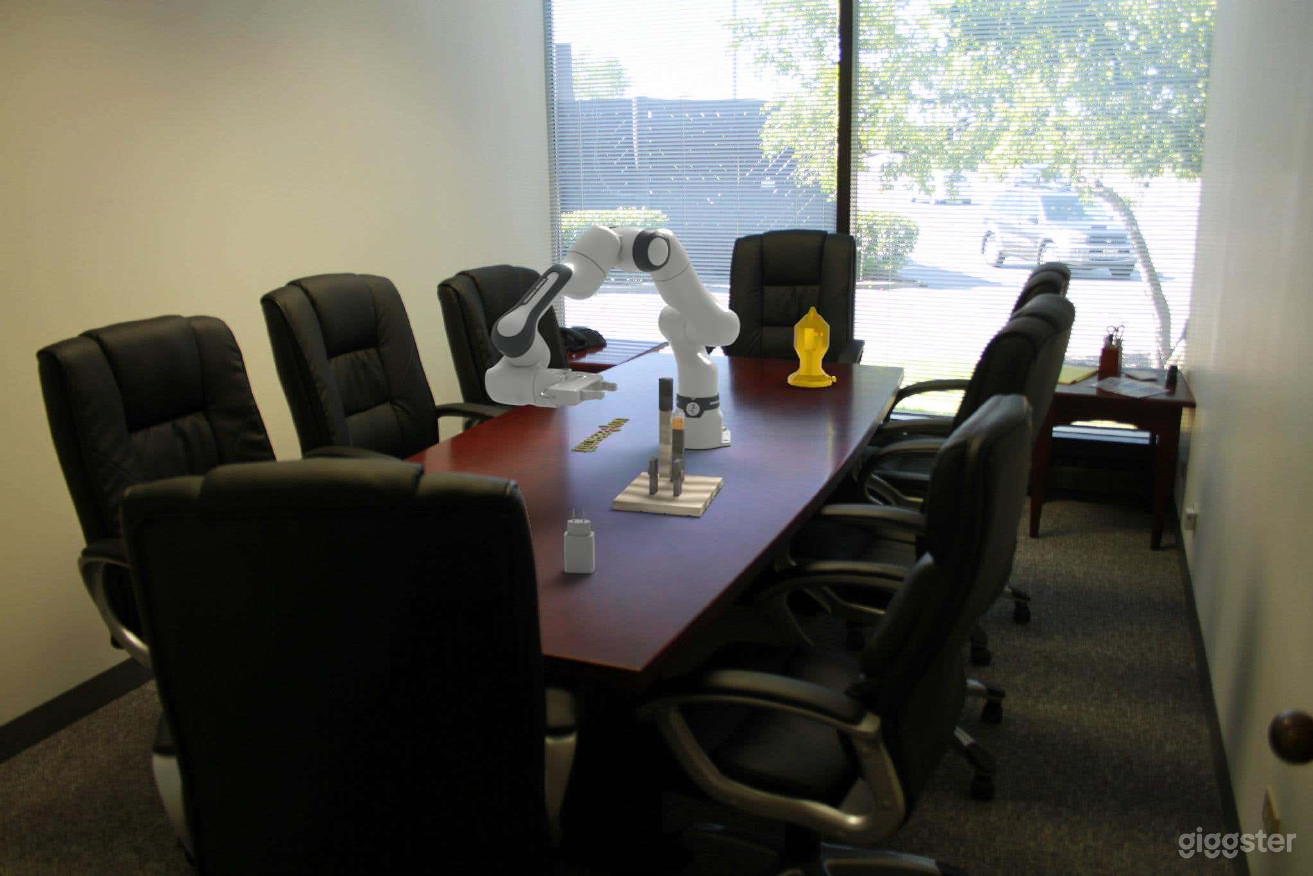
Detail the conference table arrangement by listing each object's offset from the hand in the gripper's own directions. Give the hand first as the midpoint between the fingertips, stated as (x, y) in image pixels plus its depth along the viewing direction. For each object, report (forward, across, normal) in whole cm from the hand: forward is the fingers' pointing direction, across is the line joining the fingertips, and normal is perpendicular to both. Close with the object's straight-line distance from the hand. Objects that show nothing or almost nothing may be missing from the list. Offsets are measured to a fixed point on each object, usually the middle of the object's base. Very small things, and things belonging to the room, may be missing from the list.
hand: (610, 391), depth 221 cm
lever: (+13, 0, +18) cm, 22 cm away
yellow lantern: (+29, +153, +25) cm, 158 cm away
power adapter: (+8, -44, +25) cm, 52 cm away
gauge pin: (+13, +11, +9) cm, 19 cm away
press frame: (+13, +4, +25) cm, 29 cm away
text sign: (-21, +57, +26) cm, 66 cm away
